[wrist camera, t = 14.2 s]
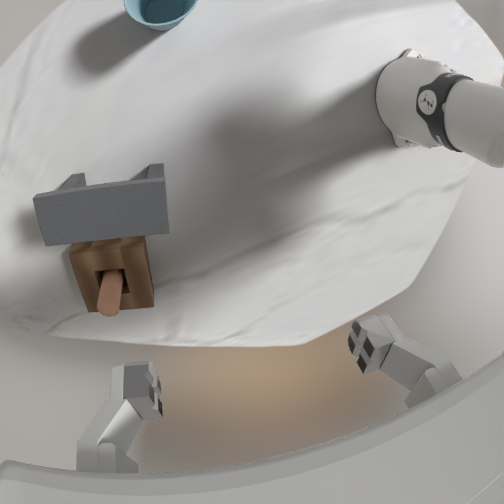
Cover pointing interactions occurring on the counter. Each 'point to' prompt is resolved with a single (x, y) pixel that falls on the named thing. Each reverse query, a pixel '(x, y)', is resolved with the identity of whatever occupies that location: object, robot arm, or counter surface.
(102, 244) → the socket
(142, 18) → the cup
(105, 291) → the peg
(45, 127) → the counter surface
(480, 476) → the robot arm
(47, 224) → the grey u-shaped bracket
